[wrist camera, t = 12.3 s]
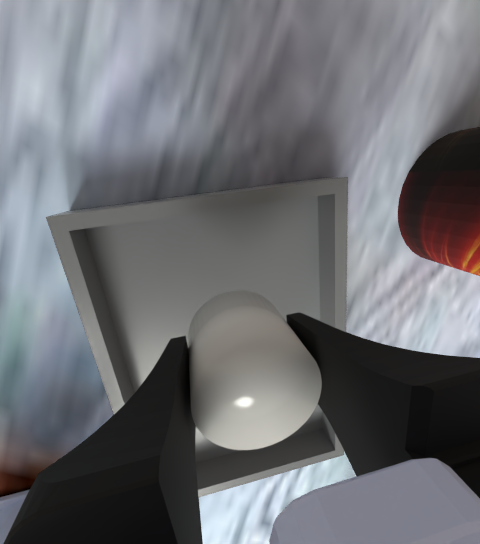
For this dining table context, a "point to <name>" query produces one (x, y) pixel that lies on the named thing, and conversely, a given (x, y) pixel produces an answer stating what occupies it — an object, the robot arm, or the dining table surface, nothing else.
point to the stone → (248, 373)
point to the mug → (445, 202)
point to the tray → (207, 290)
